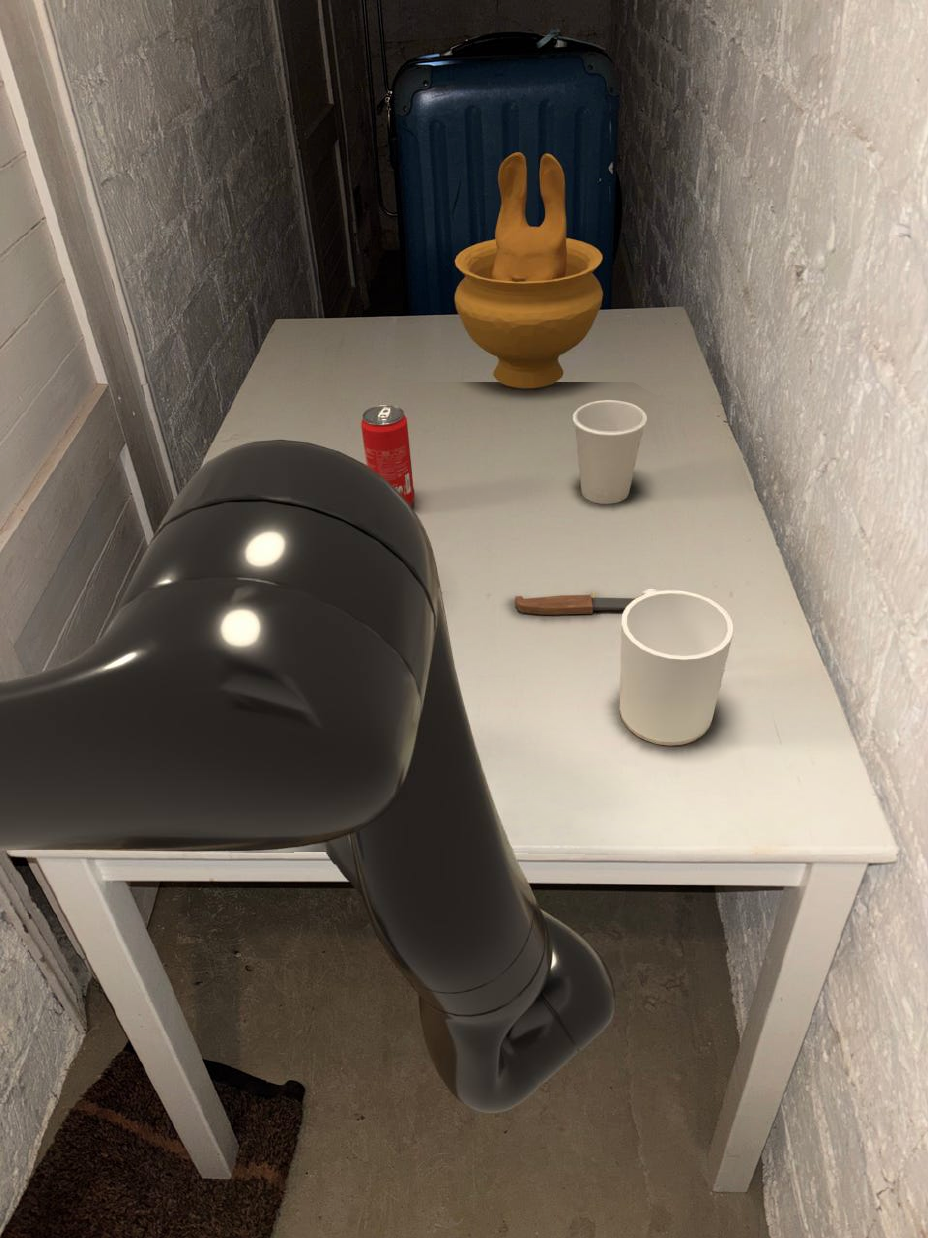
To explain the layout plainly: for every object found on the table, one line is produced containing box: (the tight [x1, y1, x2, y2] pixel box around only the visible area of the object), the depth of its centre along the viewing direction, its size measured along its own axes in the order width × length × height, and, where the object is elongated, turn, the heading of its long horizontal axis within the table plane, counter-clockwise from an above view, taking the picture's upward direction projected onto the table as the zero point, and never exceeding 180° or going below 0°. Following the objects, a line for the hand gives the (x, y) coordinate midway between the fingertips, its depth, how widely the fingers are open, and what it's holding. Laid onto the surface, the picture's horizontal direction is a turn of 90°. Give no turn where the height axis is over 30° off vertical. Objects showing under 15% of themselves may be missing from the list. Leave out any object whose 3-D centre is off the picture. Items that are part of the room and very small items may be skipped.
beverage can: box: [360, 404, 415, 507], centre depth 106 cm, size 5×5×12 cm
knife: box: [514, 590, 637, 615], centre depth 92 cm, size 17×1×3 cm
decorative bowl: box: [454, 152, 604, 389], centre depth 128 cm, size 21×21×30 cm
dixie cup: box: [572, 399, 648, 505], centre depth 107 cm, size 8×8×10 cm
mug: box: [619, 588, 734, 747], centre depth 78 cm, size 11×9×10 cm
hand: (273, 682), depth 71 cm, fingers open, 8 cm apart
